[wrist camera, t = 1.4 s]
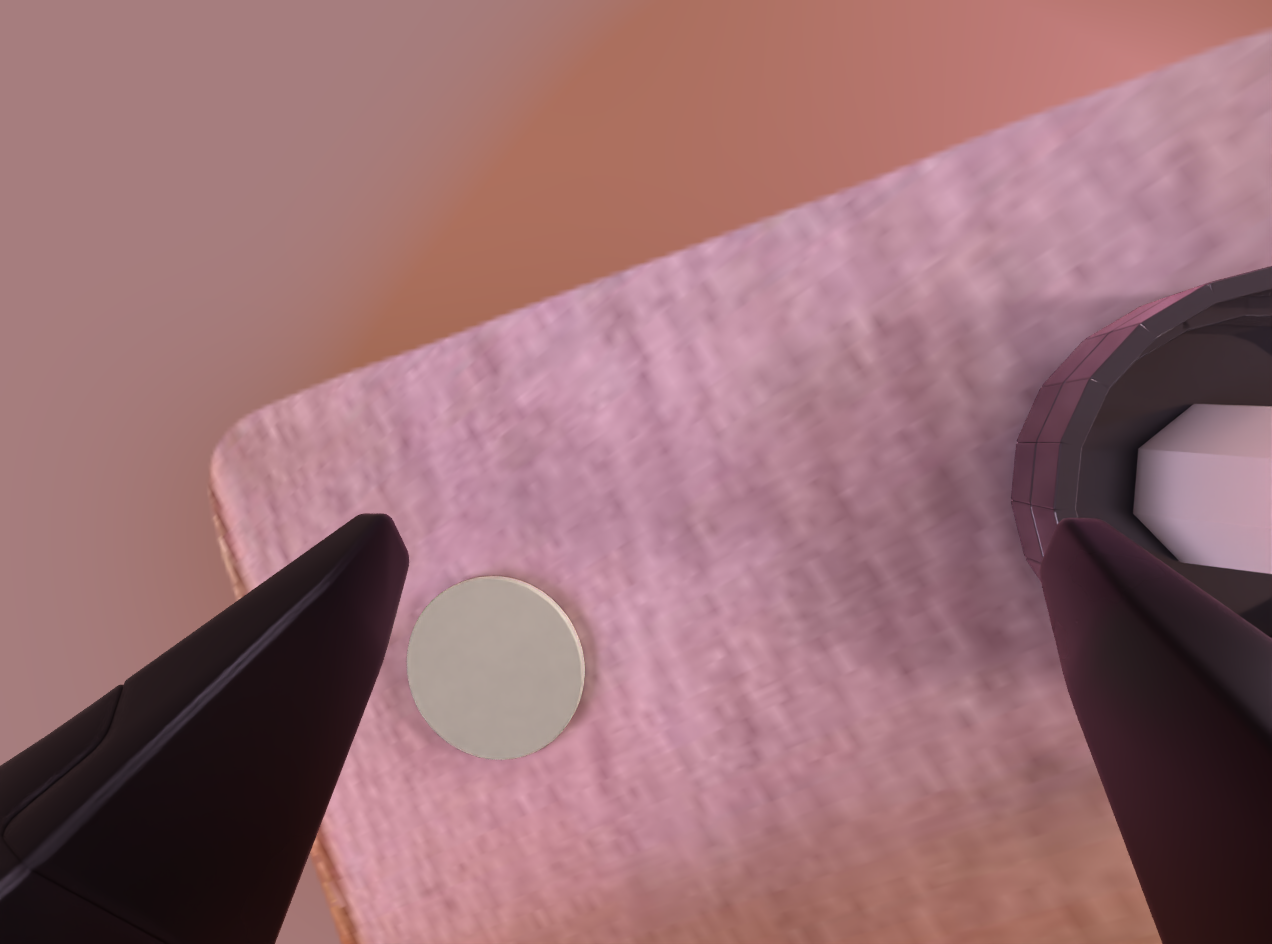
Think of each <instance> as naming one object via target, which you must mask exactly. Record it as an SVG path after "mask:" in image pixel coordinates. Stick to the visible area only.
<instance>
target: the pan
mask: <svg viewBox="0 0 1272 944" xmlns="http://www.w3.org/2000/svg"><path fill="white" fill-rule="evenodd" d="M1193 404H1220V405H1255V406H1272V266H1270V267H1266V268H1262V269H1258V270H1255V271H1251V272H1247V273H1243V274H1239V275H1236V276H1232V277H1228V278H1224V279H1220V280H1217V281H1213V282H1209V283H1206V284H1203V285H1200V286H1197V287H1194V288H1192V289H1189V290H1186V291H1183V292H1180V293H1177V294H1174V295H1171V296H1168V297H1165V298H1162V299H1160V300H1157V301H1154V302H1151V303H1148V304H1145V305H1143V306H1140V307H1138V308H1136V309H1135V310H1133V311H1131V312H1130V313H1128V314H1126V315H1125V316H1123V317H1121V318H1120V319H1118V320H1116V321H1115V322H1113V323H1111V324H1110V325H1108V326H1106V327H1104V328H1103V329H1101V330H1099V331H1098V332H1096V333H1094V334H1093V335H1091V336H1089V337H1088V338H1086V339H1085V340H1084V341H1082V342H1081V344H1080V345H1079V346H1078V347H1077V348H1076V349H1075V350H1074V351H1073V352H1072V353H1071V355H1070V356H1069V357H1068V358H1067V359H1066V360H1065V361H1064V362H1063V363H1062V364H1061V366H1060V367H1059V368H1058V369H1057V370H1056V371H1055V372H1054V373H1053V374H1052V375H1051V376H1050V378H1049V379H1048V380H1047V381H1046V382H1045V383H1044V384H1043V385H1042V388H1041V389H1040V390H1039V393H1038V395H1037V397H1036V399H1035V401H1034V404H1033V406H1032V408H1031V410H1030V412H1029V415H1028V417H1027V419H1026V421H1025V423H1024V426H1023V428H1022V430H1021V432H1020V434H1019V437H1018V439H1017V442H1018V443H1017V444H1016V451H1015V462H1014V472H1013V483H1012V493H1011V499H1012V500H1013V501H1011V504H1012V508H1013V512H1014V516H1015V520H1016V524H1017V528H1018V532H1019V536H1020V540H1021V544H1022V548H1023V552H1024V555H1025V557H1026V560H1027V561H1028V563H1029V565H1030V566H1031V568H1032V569H1033V571H1034V572H1035V574H1036V575H1037V577H1038V578H1039V580H1040V581H1041V579H1040V566H1041V562H1042V559H1043V557H1044V554H1045V552H1046V550H1047V547H1048V545H1049V542H1050V540H1051V538H1052V535H1053V533H1054V531H1055V528H1056V526H1057V525H1058V523H1059V522H1060V521H1061V520H1063V519H1066V518H1096V519H1100V520H1103V521H1105V522H1106V523H1108V524H1109V525H1111V526H1112V527H1113V528H1115V529H1116V530H1118V531H1119V532H1121V533H1122V534H1123V535H1125V536H1126V537H1128V538H1129V539H1131V540H1132V541H1133V542H1135V543H1136V544H1138V545H1139V546H1141V547H1142V548H1143V549H1145V550H1146V551H1148V552H1149V553H1151V554H1152V555H1153V556H1155V557H1156V558H1158V559H1159V560H1161V561H1162V562H1163V563H1165V564H1166V565H1168V566H1169V567H1170V568H1172V569H1173V570H1175V571H1176V572H1178V573H1179V574H1180V575H1182V576H1183V577H1185V578H1186V579H1188V580H1189V581H1190V582H1192V583H1193V584H1195V585H1196V586H1198V587H1199V588H1200V589H1202V590H1203V591H1205V592H1206V593H1208V594H1209V595H1210V596H1212V597H1213V598H1215V599H1216V600H1217V601H1219V602H1220V603H1222V604H1223V605H1225V606H1226V607H1227V608H1229V609H1230V610H1232V611H1233V612H1235V613H1236V614H1237V615H1239V616H1240V617H1242V618H1243V619H1245V620H1246V621H1247V622H1249V623H1250V624H1252V625H1253V626H1255V627H1256V628H1257V629H1259V630H1260V631H1262V632H1263V633H1264V634H1266V635H1267V636H1269V637H1270V638H1272V574H1268V573H1260V572H1252V571H1244V570H1237V569H1229V568H1221V567H1213V566H1205V565H1198V564H1190V563H1182V562H1180V561H1179V560H1178V559H1177V558H1176V557H1175V556H1174V555H1173V554H1172V553H1171V552H1170V551H1169V550H1168V549H1167V548H1166V547H1165V546H1164V545H1163V544H1162V543H1161V542H1160V541H1159V540H1158V539H1157V538H1156V537H1155V536H1154V535H1153V534H1152V533H1151V531H1150V530H1149V529H1148V528H1147V527H1146V526H1145V525H1144V524H1143V523H1142V522H1141V521H1140V520H1139V519H1138V518H1137V517H1136V516H1135V515H1134V514H1133V508H1134V496H1135V483H1136V471H1137V458H1138V449H1139V448H1140V447H1141V446H1142V445H1143V444H1145V443H1146V442H1147V441H1148V440H1150V439H1151V438H1152V437H1153V436H1155V435H1156V434H1157V433H1158V432H1160V431H1161V430H1162V429H1163V428H1165V427H1166V426H1167V425H1168V424H1170V423H1171V422H1172V421H1173V420H1174V419H1176V418H1177V417H1178V416H1179V415H1181V414H1182V413H1183V412H1184V411H1186V410H1187V409H1188V408H1189V407H1191V406H1192V405H1193Z"/></svg>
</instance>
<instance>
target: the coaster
mask: <svg viewBox="0 0 1272 944" xmlns="http://www.w3.org/2000/svg"><path fill="white" fill-rule="evenodd" d="M407 676H408V682H409V686H410V690H411V693H412V696H413V699H414V701H415V703H416V706H417V708H418V709H419V711H420V713H421V715H422V716H423V718H424V719H425V720H426V722H427V723H428V724H429V726H430V727H431V728H432V729H433V730H434V731H435V732H436V733H437V734H438V735H439V736H440V737H441V738H442V739H444V740H445V741H446V742H447V743H449V744H450V745H452V746H454V747H455V748H457V749H459V750H461V751H463V752H465V753H467V754H470V755H473V756H476V757H480V758H485V759H492V760H507V759H515V758H520V757H524V756H527V755H529V754H532V753H535V752H536V751H538V750H540V749H542V748H544V747H545V746H547V745H548V744H549V743H551V742H552V741H553V740H554V739H555V738H556V737H557V736H558V735H559V734H560V733H561V732H562V731H563V730H564V728H565V727H566V726H567V724H568V723H569V722H570V720H571V718H572V716H573V715H574V713H575V711H576V709H577V707H578V704H579V702H580V699H581V696H582V691H583V687H584V678H585V664H584V656H583V650H582V647H581V644H580V640H579V637H578V635H577V633H576V631H575V628H574V626H573V625H572V623H571V621H570V620H569V618H568V616H567V615H566V614H565V613H564V611H563V610H562V609H561V607H560V606H559V605H558V604H557V603H556V602H555V601H554V600H553V599H551V598H550V597H549V596H548V595H546V594H545V593H544V592H542V591H541V590H539V589H537V588H536V587H534V586H532V585H530V584H528V583H525V582H523V581H521V580H517V579H513V578H510V577H503V576H482V577H476V578H472V579H468V580H465V581H463V582H460V583H458V584H456V585H454V586H452V587H450V588H448V589H447V590H445V591H443V592H442V593H440V594H439V595H438V596H437V597H436V598H434V599H433V600H432V601H431V602H430V603H429V605H428V606H427V607H426V608H425V609H424V611H423V612H422V614H421V615H420V616H419V618H418V620H417V622H416V624H415V626H414V628H413V631H412V634H411V637H410V640H409V645H408V650H407Z"/></svg>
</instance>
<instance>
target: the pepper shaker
mask: <svg viewBox="0 0 1272 944" xmlns="http://www.w3.org/2000/svg"><path fill="white" fill-rule="evenodd" d="M1133 514H1134V515H1135V516H1136V517H1137V518H1138V519H1139V520H1140V521H1141V522H1142V523H1143V524H1144V525H1145V526H1146V527H1147V528H1148V529H1149V530H1150V531H1151V533H1152V534H1153V535H1154V536H1155V537H1156V538H1157V539H1158V540H1159V541H1160V542H1161V543H1162V544H1163V545H1164V546H1165V547H1166V548H1167V549H1168V550H1169V551H1170V552H1171V553H1172V554H1173V555H1174V556H1175V557H1176V558H1177V559H1178V560H1179V561H1180V562H1182V563H1190V564H1198V565H1205V566H1213V567H1221V568H1229V569H1237V570H1244V571H1252V572H1260V573H1268V574H1272V406H1255V405H1220V404H1193V405H1192V406H1191V407H1189V408H1188V409H1187V410H1186V411H1184V412H1183V413H1182V414H1181V415H1179V416H1178V417H1177V418H1176V419H1174V420H1173V421H1172V422H1171V423H1170V424H1168V425H1167V426H1166V427H1165V428H1163V429H1162V430H1161V431H1160V432H1158V433H1157V434H1156V435H1155V436H1153V437H1152V438H1151V439H1150V440H1148V441H1147V442H1146V443H1145V444H1143V445H1142V446H1141V447H1140V448H1139V449H1138V458H1137V471H1136V483H1135V496H1134V508H1133Z"/></svg>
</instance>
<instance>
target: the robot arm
mask: <svg viewBox="0 0 1272 944" xmlns="http://www.w3.org/2000/svg"><path fill="white" fill-rule="evenodd" d="M408 567H409V555H408V551H407V549H406V547H405V544H404V542H403V540H402V538H401V536H400V534H399V532H398V530H397V528H396V526H395V523H394V521H393V520H392V518H391V517H390V516H388V515H387V514H360V515H358V516H356V517H354V518H353V519H352V520H350V521H349V522H347V523H346V524H345V525H343V526H342V527H340V528H339V529H338V530H336V531H335V532H333V533H332V534H331V535H329V536H328V537H326V538H325V539H324V540H322V541H321V542H319V543H318V544H317V545H315V546H314V547H312V548H311V549H310V550H308V551H307V552H305V553H304V554H303V555H301V556H300V557H298V558H297V559H296V560H294V561H293V562H291V563H290V564H288V565H287V566H286V567H284V568H283V569H281V570H280V571H279V572H277V573H276V574H274V575H273V576H272V577H270V578H269V579H267V580H266V581H265V582H263V583H262V584H260V585H259V586H258V587H256V588H255V589H253V590H252V591H251V592H249V593H248V594H246V595H245V596H244V597H242V598H241V599H239V600H238V601H237V602H235V603H234V604H232V605H231V606H229V607H228V608H227V609H225V610H224V611H222V612H221V613H220V614H218V615H217V616H216V617H214V618H213V619H211V620H210V621H208V622H207V623H206V624H204V625H203V626H201V627H200V628H199V629H197V630H196V631H195V632H193V633H192V634H190V635H189V636H187V637H186V638H185V639H183V640H182V641H180V642H179V643H177V644H176V645H175V646H174V647H172V648H170V649H169V650H168V651H166V652H165V653H163V654H162V655H161V656H159V657H158V658H157V659H155V660H154V661H152V662H151V663H150V664H148V665H147V666H145V667H144V668H142V669H141V670H140V671H138V672H137V673H135V674H134V675H132V676H131V677H130V678H128V679H127V680H126V681H125V683H124V685H118V686H117V687H115V688H114V689H113V690H111V691H110V692H109V693H107V694H106V695H104V696H103V697H102V698H100V699H99V700H97V701H96V702H94V703H93V704H92V705H90V706H89V707H87V708H86V709H84V710H83V711H82V712H80V713H79V714H77V715H76V716H74V717H73V718H72V719H70V720H69V721H67V722H66V723H64V724H63V725H62V726H60V727H58V728H57V729H56V730H54V731H53V732H51V733H50V734H48V735H47V736H45V737H44V738H42V739H41V740H39V741H38V742H37V743H35V744H33V745H32V746H30V747H29V748H27V749H26V750H24V751H23V752H21V753H19V754H18V755H16V756H15V757H13V758H12V759H10V760H9V761H7V762H6V763H4V764H3V765H1V766H0V944H275V942H276V939H277V937H278V934H279V932H280V929H281V926H282V924H283V921H284V918H285V916H286V913H287V911H288V908H289V906H290V903H291V900H292V897H293V895H294V893H295V890H296V887H297V885H298V882H299V880H300V877H301V874H302V872H303V869H304V866H305V864H306V861H307V859H308V856H309V853H310V851H311V848H312V846H313V843H314V840H315V838H316V835H317V833H318V830H319V827H320V825H321V822H322V820H323V817H324V814H325V812H326V809H327V807H328V804H329V801H330V799H331V796H332V794H333V791H334V788H335V786H336V783H337V781H338V778H339V775H340V773H341V770H342V768H343V765H344V762H345V760H346V757H347V755H348V752H349V749H350V747H351V744H352V742H353V739H354V736H355V734H356V731H357V729H358V726H359V723H360V721H361V718H362V716H363V713H364V710H365V708H366V705H367V703H368V700H369V697H370V695H371V692H372V690H373V687H374V684H375V682H376V679H377V677H378V674H379V671H380V668H381V666H382V663H383V660H384V657H385V653H386V650H387V647H388V643H389V639H390V636H391V632H392V628H393V624H394V620H395V617H396V613H397V609H398V605H399V602H400V598H401V594H402V590H403V586H404V583H405V579H406V575H407V571H408ZM1040 579H1041V583H1042V588H1043V592H1044V596H1045V600H1046V604H1047V608H1048V612H1049V617H1050V621H1051V625H1052V629H1053V633H1054V637H1055V641H1056V645H1057V650H1058V654H1059V658H1060V662H1061V666H1062V670H1063V674H1064V678H1065V681H1066V685H1067V689H1068V692H1069V695H1070V698H1071V701H1072V704H1073V706H1074V709H1075V712H1076V715H1077V717H1078V720H1079V723H1080V725H1081V728H1082V731H1083V733H1084V736H1085V739H1086V741H1087V744H1088V747H1089V749H1090V752H1091V755H1092V757H1093V760H1094V763H1095V765H1096V768H1097V771H1098V773H1099V776H1100V779H1101V781H1102V784H1103V786H1104V789H1105V792H1106V794H1107V797H1108V800H1109V802H1110V805H1111V808H1112V810H1113V813H1114V816H1115V818H1116V821H1117V824H1118V826H1119V829H1120V832H1121V834H1122V837H1123V840H1124V842H1125V845H1126V848H1127V850H1128V853H1129V856H1130V858H1131V861H1132V864H1133V866H1134V869H1135V872H1136V874H1137V877H1138V880H1139V882H1140V885H1141V888H1142V890H1143V893H1144V896H1145V898H1146V901H1147V904H1148V906H1149V909H1150V912H1151V914H1152V917H1153V920H1154V922H1155V925H1156V928H1157V930H1158V933H1159V936H1160V938H1161V941H1162V943H1163V944H1272V638H1270V637H1269V636H1267V635H1266V634H1264V633H1263V632H1262V631H1260V630H1259V629H1257V628H1256V627H1255V626H1253V625H1252V624H1250V623H1249V622H1247V621H1246V620H1245V619H1243V618H1242V617H1240V616H1239V615H1237V614H1236V613H1235V612H1233V611H1232V610H1230V609H1229V608H1227V607H1226V606H1225V605H1223V604H1222V603H1220V602H1219V601H1217V600H1216V599H1215V598H1213V597H1212V596H1210V595H1209V594H1208V593H1206V592H1205V591H1203V590H1202V589H1200V588H1199V587H1198V586H1196V585H1195V584H1193V583H1192V582H1190V581H1189V580H1188V579H1186V578H1185V577H1183V576H1182V575H1180V574H1179V573H1178V572H1176V571H1175V570H1173V569H1172V568H1170V567H1169V566H1168V565H1166V564H1165V563H1163V562H1162V561H1161V560H1159V559H1158V558H1156V557H1155V556H1153V555H1152V554H1151V553H1149V552H1148V551H1146V550H1145V549H1143V548H1142V547H1141V546H1139V545H1138V544H1136V543H1135V542H1133V541H1132V540H1131V539H1129V538H1128V537H1126V536H1125V535H1123V534H1122V533H1121V532H1119V531H1118V530H1116V529H1115V528H1113V527H1112V526H1111V525H1109V524H1108V523H1106V522H1105V521H1103V520H1100V519H1096V518H1066V519H1063V520H1061V521H1060V522H1059V523H1058V525H1057V526H1056V528H1055V531H1054V533H1053V535H1052V538H1051V540H1050V542H1049V545H1048V547H1047V550H1046V552H1045V554H1044V557H1043V559H1042V562H1041V566H1040Z"/></svg>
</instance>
